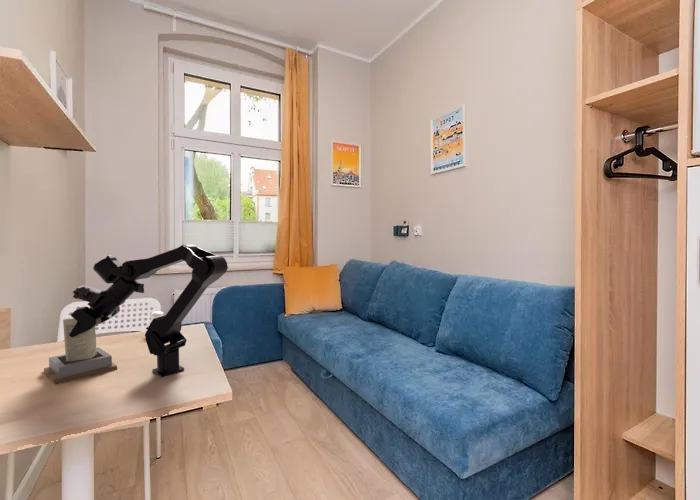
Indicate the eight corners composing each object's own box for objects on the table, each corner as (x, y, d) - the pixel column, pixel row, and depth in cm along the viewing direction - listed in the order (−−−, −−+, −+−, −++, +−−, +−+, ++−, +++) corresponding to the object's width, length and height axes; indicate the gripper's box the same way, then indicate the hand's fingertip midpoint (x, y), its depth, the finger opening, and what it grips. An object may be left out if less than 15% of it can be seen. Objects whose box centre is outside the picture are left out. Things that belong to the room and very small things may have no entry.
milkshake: (163, 335, 135) (163, 310, 135) (148, 335, 134) (148, 310, 134) (167, 332, 140) (167, 307, 139) (153, 332, 139) (153, 308, 138)
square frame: (111, 365, 101) (111, 355, 101) (59, 379, 91) (58, 367, 91) (99, 356, 108) (98, 347, 108) (49, 367, 99) (48, 357, 99)
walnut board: (117, 369, 101) (117, 365, 101) (55, 384, 90) (55, 381, 90) (101, 358, 110) (101, 355, 110) (44, 371, 99) (43, 368, 99)
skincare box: (97, 354, 103) (96, 314, 102) (90, 359, 98) (89, 317, 98) (72, 356, 101) (70, 315, 100) (64, 361, 97) (62, 318, 96)
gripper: (107, 272, 109) (67, 309, 106) (78, 279, 91) (29, 323, 88) (136, 295, 111) (97, 332, 109) (113, 307, 93) (67, 351, 91)
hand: (74, 334), depth 99 cm, fingers closed on skincare box, 4 cm apart
